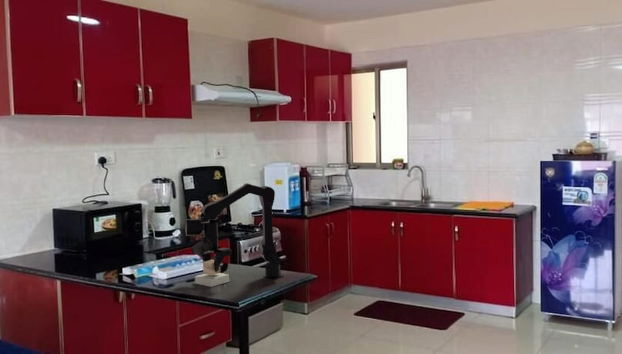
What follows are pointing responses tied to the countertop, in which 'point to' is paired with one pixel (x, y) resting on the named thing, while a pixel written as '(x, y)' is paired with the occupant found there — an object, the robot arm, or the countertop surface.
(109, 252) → the countertop surface
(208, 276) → the riser
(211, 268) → the birch cube
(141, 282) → the countertop surface
